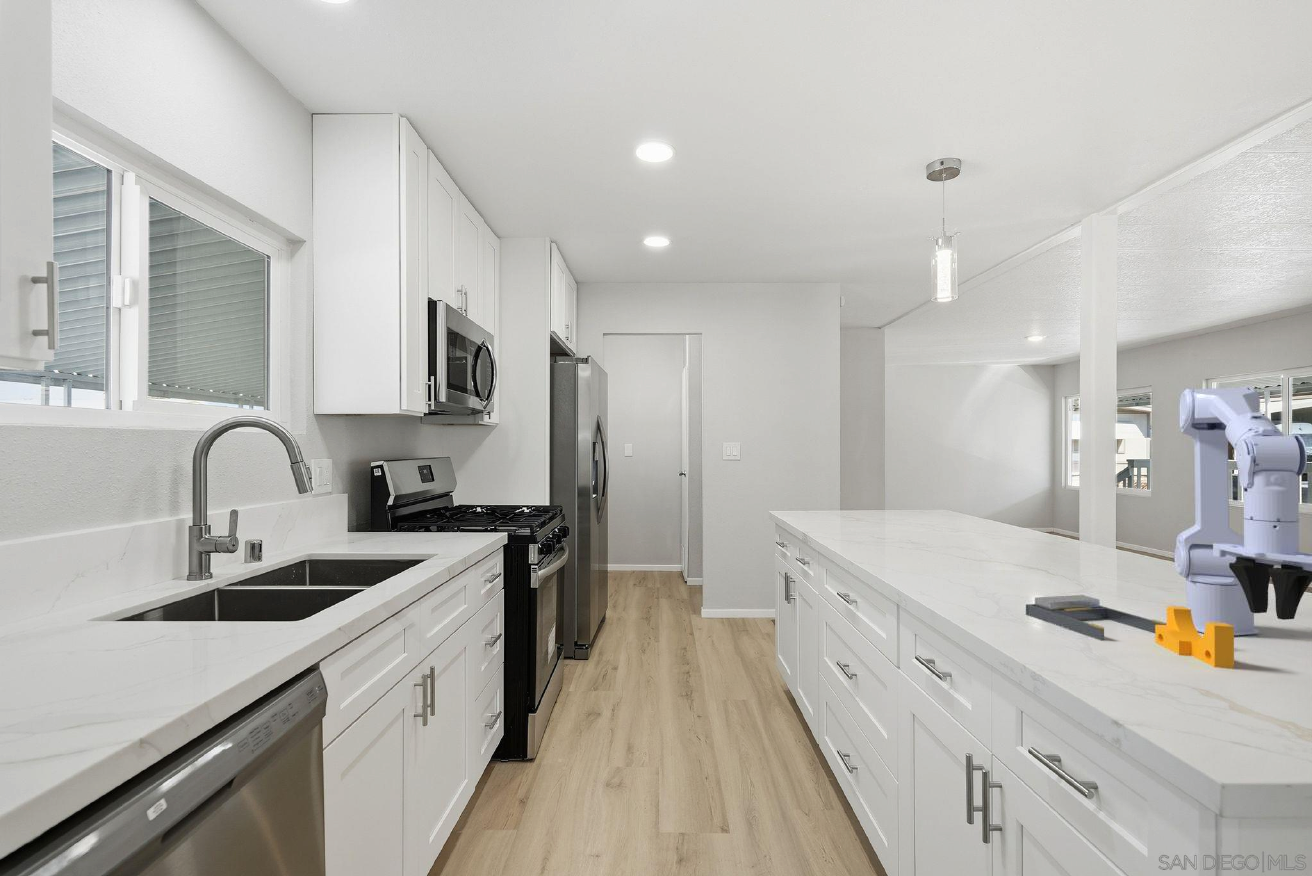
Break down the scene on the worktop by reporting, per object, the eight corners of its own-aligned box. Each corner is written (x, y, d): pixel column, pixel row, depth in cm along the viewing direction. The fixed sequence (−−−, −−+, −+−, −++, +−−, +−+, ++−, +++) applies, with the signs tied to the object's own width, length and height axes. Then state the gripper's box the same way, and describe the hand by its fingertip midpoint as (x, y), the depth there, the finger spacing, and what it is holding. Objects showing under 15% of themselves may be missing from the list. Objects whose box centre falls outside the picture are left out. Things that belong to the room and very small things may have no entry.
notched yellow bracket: (1155, 643, 110) (1155, 605, 111) (1184, 644, 110) (1183, 606, 110) (1201, 667, 99) (1201, 625, 99) (1234, 669, 98) (1233, 626, 98)
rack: (1084, 610, 132) (1084, 593, 132) (1166, 635, 115) (1166, 615, 115) (1025, 614, 129) (1025, 596, 129) (1101, 640, 112) (1101, 619, 112)
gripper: (1196, 515, 99) (1197, 604, 99) (1308, 526, 85) (1310, 631, 84) (1233, 514, 100) (1234, 602, 100) (1350, 525, 86) (1352, 628, 86)
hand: (1272, 615), depth 92 cm, fingers open, 3 cm apart
